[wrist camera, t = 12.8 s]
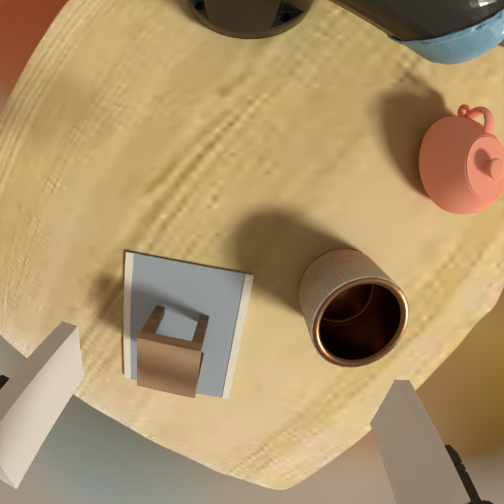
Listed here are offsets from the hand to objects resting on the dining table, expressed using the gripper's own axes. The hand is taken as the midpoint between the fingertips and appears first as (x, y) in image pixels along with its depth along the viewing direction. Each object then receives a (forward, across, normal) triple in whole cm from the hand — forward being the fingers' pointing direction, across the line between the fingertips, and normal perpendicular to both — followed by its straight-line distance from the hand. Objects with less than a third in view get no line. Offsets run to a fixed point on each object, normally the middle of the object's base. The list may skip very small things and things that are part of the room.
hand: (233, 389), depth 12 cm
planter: (+27, +13, -6) cm, 30 cm away
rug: (+26, -6, -16) cm, 31 cm away
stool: (+26, -6, -16) cm, 31 cm away
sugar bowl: (+28, +24, +14) cm, 39 cm away
